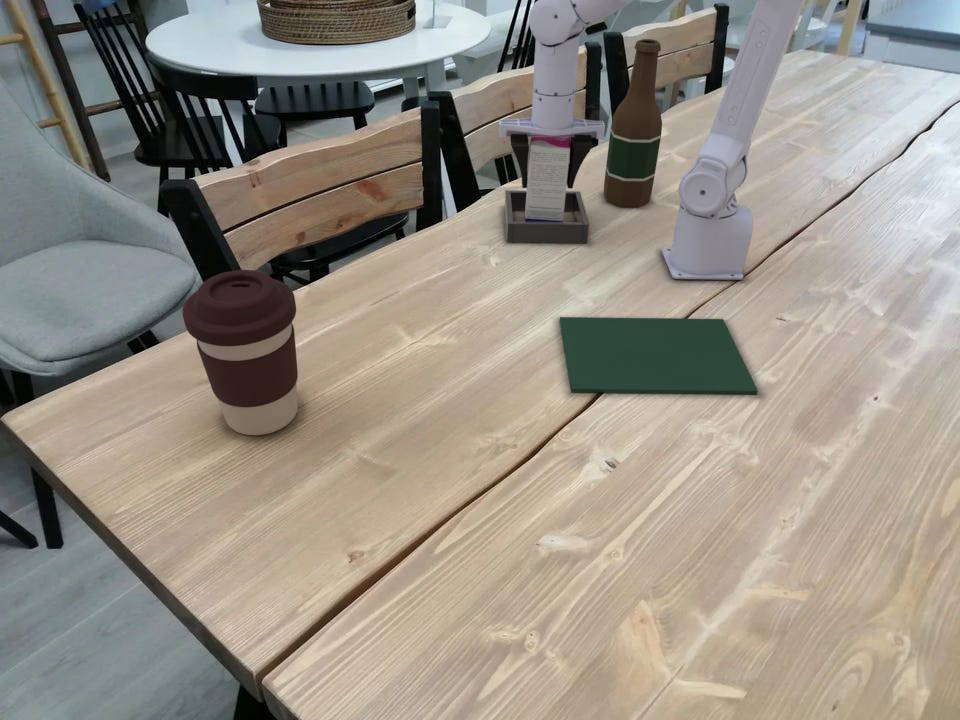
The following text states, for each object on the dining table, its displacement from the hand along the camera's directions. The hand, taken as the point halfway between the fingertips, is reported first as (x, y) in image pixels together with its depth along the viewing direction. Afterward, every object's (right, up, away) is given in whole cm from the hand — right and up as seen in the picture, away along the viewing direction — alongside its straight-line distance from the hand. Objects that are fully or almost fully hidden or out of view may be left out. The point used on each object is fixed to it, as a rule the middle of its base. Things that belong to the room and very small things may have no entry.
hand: (547, 185), depth 107 cm
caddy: (0, -5, +4) cm, 6 cm away
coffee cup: (-32, -31, -32) cm, 55 cm away
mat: (+10, -25, -23) cm, 35 cm away
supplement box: (0, -4, +3) cm, 5 cm away
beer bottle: (+14, +1, +12) cm, 18 cm away
